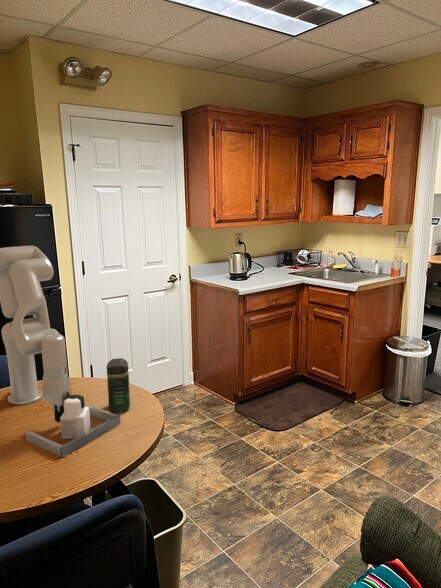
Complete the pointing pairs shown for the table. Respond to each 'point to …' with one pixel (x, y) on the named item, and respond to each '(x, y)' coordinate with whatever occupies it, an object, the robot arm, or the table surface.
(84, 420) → the container
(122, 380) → the coffee jar
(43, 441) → the bracket
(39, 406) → the table surface
